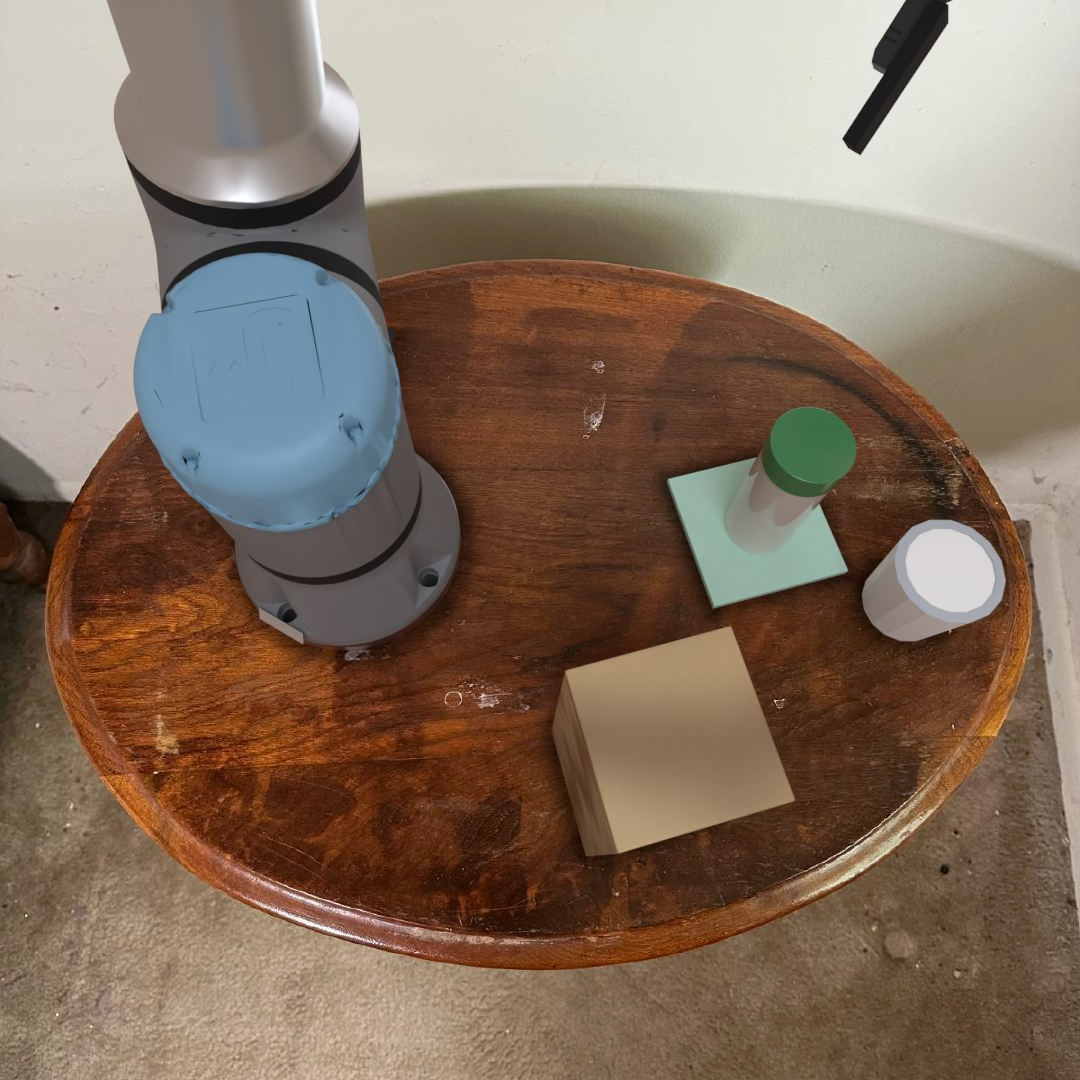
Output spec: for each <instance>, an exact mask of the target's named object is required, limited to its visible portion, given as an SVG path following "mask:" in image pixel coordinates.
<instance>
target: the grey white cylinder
mask: <svg viewBox="0 0 1080 1080" xmlns="http://www.w3.org/2000/svg"><path fill="white" fill-rule="evenodd" d="M1002 561H1003V560H1002V559H1001V558H1000V556H999V553H998V552H997V551H996V550H995V547H994V546H993V545H992V543H991V542H990V541H989V540H988V539H986V538H985V537H984V536H983V535H982V534H981V533H979V532H978V531H976V529H974V528H973V527H972V526H969V525H966V524H962V523H961V522H958V521H955V520H952V519H929V520H926V521H924V522H921V523H919V524H916V525H914V526H913V525H912V526H911V527H910V529H908V530H907V532H906V533H905V534H904V535H903V536H902V537H901V539H900V540H898V542H897V543H896V544H895V545H894V546H893V548H892V549H891V550H890V551H889V552H888V554H887V555H886V556H885V557H884V558H883V559H882V561H880V563H879V564H878V565H877V567H876V568H874V570H873V571H872V573H871V574H869V576H868V577H867V579H865V582H864V585H863V589H862V592H861V598H862V606H863V607H862V608H863V611H864V613H865V614H866V616H867V617H868V619H869V621H870V623H871V625H873V626H874V627H875V629H877V630H878V631H879V632H881V633H882V634H883V635H885V636H886V637H888V638H892V639H894V640H896V641H899V642H918V641H921V640H924V639H926V638H930V637H934V636H936V635H939V634H942V633H945V632H948V631H950V630H953V629H957V628H959V627H962V626H965V625H968V624H971V623H973V622H974V623H975V622H976V621H978V620H980V619H984V618H985V617H987V616H990V615H991V613H992V612H993V611H995V609H996V607H997V606H998V605H999V604H1000V603H1001V602H1002V600H1003V596H1004V592H1005V591H1004V590H1005V587H1006V582H1007V580H1006V575H1005V570H1004V566H1003V562H1002Z"/></svg>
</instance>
